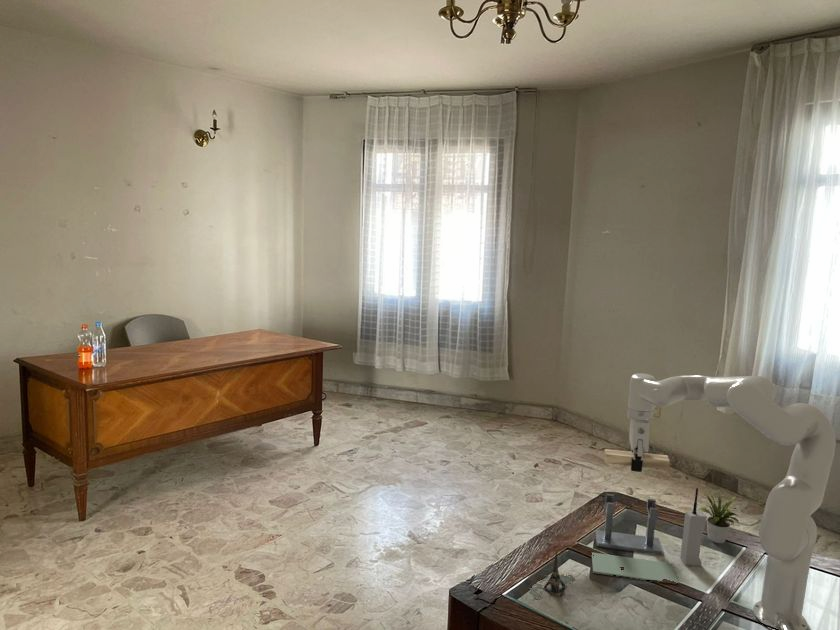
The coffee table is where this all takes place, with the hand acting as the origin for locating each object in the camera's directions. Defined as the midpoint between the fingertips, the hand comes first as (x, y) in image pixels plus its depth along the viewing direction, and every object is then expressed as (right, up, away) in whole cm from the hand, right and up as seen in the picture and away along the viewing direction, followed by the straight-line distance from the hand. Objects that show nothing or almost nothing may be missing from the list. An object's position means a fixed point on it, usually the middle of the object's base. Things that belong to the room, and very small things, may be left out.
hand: (635, 467), depth 190 cm
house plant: (+29, -27, +9) cm, 40 cm away
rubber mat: (-3, -29, -8) cm, 30 cm away
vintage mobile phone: (+16, -29, -4) cm, 33 cm away
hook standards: (0, -27, +6) cm, 27 cm away
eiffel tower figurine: (-30, -31, -16) cm, 46 cm away
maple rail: (0, +1, 0) cm, 1 cm away
